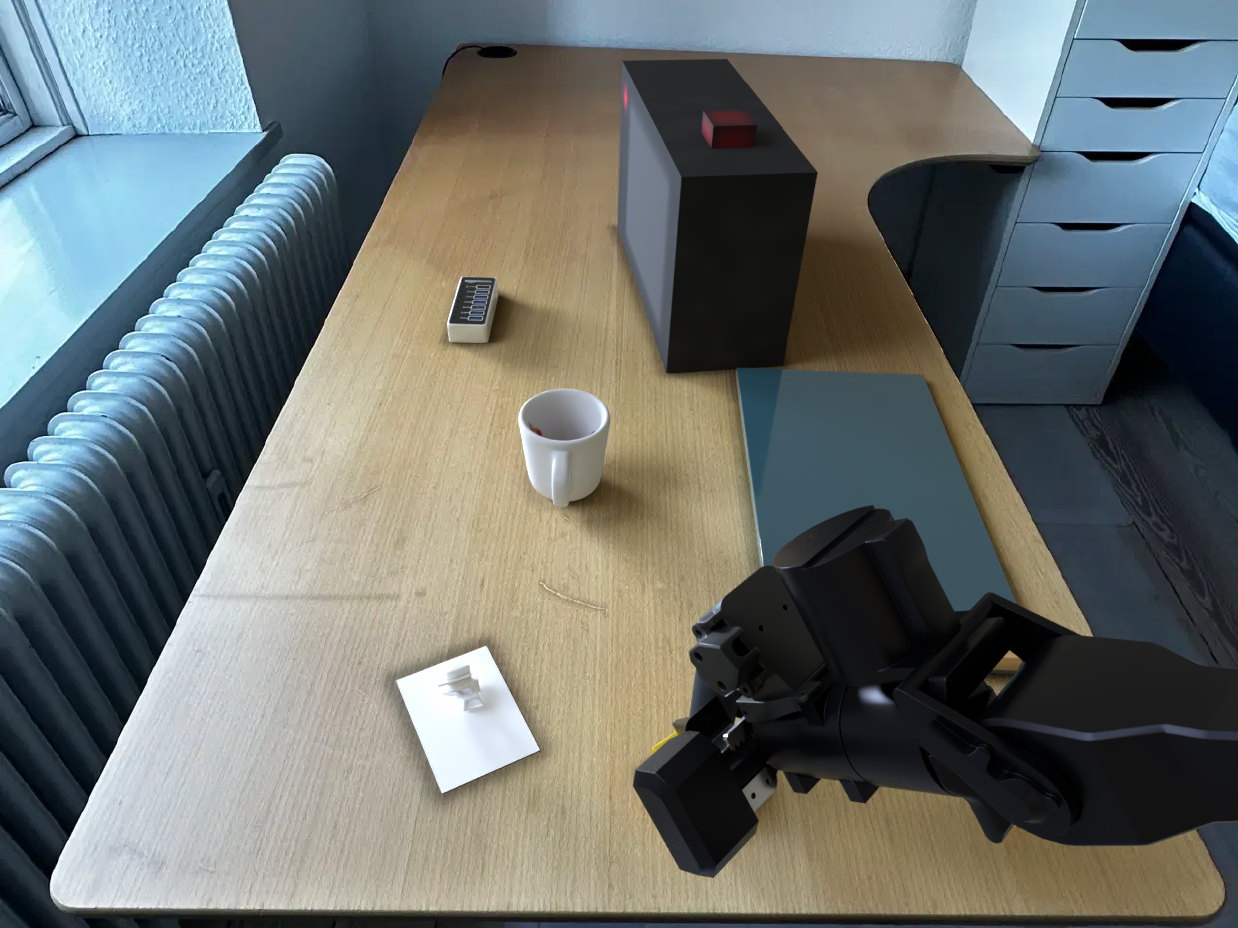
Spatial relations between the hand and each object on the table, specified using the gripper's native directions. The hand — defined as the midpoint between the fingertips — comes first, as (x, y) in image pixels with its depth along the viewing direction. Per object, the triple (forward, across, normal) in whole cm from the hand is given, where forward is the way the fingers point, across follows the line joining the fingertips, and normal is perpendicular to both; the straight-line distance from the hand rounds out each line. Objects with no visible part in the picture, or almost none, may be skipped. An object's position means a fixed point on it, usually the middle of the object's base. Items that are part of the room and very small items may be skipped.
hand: (694, 713), depth 56 cm
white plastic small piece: (+14, +8, -5) cm, 17 cm away
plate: (+10, -32, 0) cm, 33 cm away
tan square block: (-3, -23, +10) cm, 26 cm away
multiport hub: (+44, -25, -35) cm, 62 cm away
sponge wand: (+4, 0, +6) cm, 7 cm away
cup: (+23, -12, -14) cm, 30 cm away
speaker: (+35, -50, -26) cm, 66 cm away
